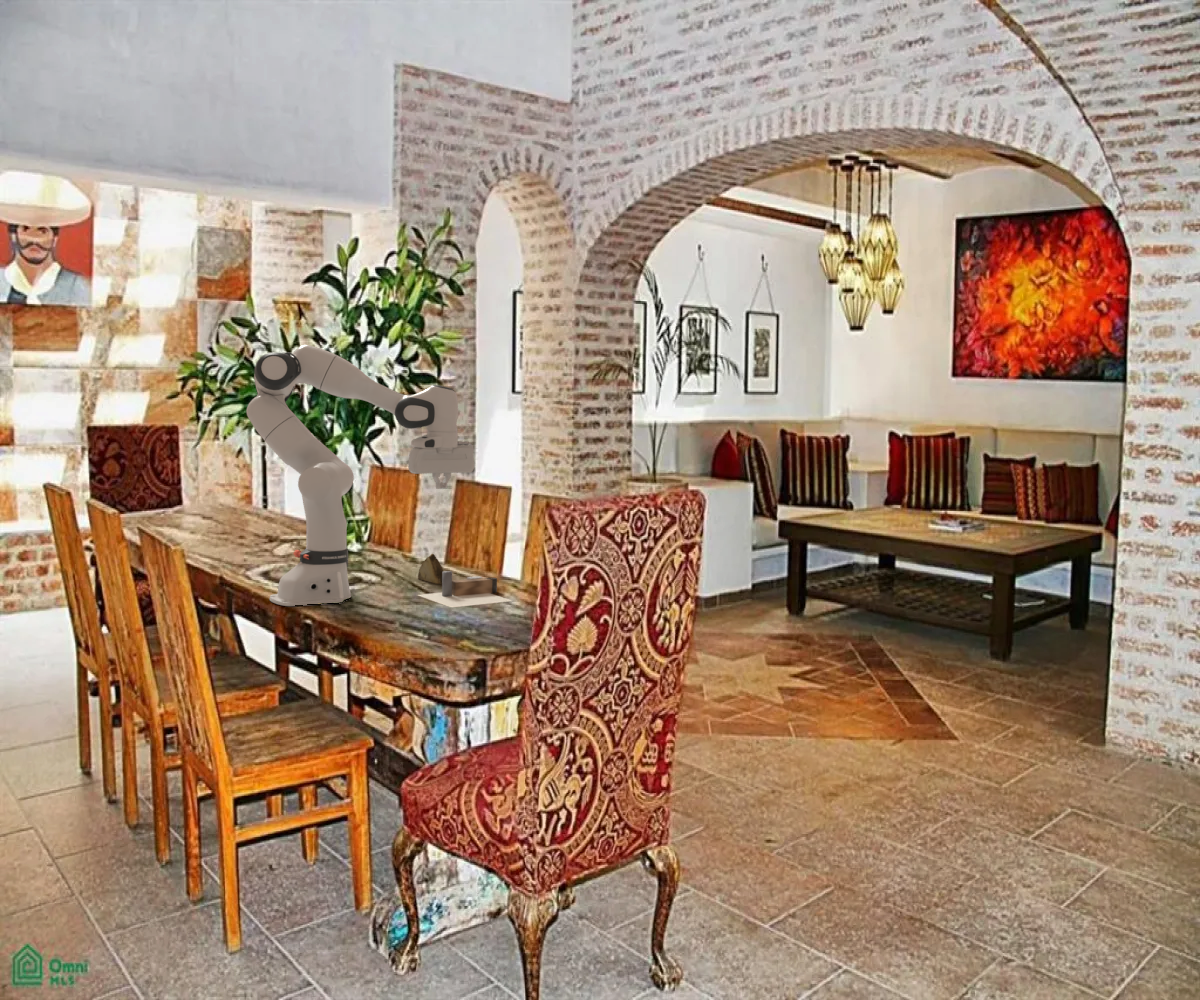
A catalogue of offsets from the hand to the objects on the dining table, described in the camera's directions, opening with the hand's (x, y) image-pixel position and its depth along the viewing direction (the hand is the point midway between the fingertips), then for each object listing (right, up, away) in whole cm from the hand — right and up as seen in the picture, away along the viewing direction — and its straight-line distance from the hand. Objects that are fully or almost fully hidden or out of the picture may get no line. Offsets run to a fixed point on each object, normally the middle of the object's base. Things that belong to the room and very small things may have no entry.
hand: (441, 488), depth 328 cm
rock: (-5, -29, +19) cm, 35 cm away
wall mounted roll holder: (+8, -32, -6) cm, 34 cm away
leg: (+10, -31, +1) cm, 32 cm away
